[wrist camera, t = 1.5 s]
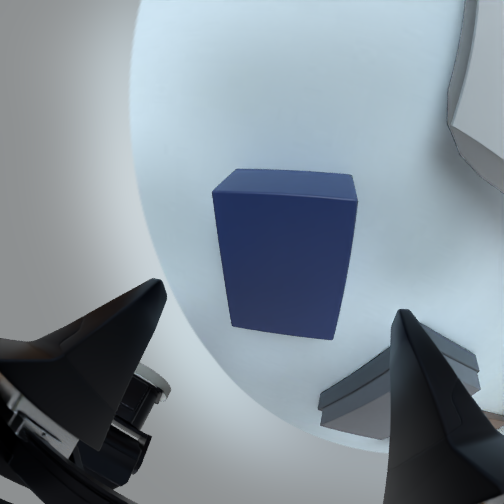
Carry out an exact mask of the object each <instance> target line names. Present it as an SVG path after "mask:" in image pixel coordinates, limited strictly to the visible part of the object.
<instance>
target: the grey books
mask: <svg viewBox="0 0 504 504" xmlns="http://www.w3.org/2000/svg"><path fill="white" fill-rule="evenodd" d="M420 324H421V323H420ZM421 325H422V327H423V328H424V329H425V330H426V332H427V333H428V334H429V336H430V337H431V339H432V340H433V341H434V343H435V344H436V345H437V347H438V348H439V350H440V351H441V352H442V354H443V355H444V357H445V358H446V359H447V361H448V362H449V364H450V365H451V367H452V368H453V370H454V371H455V373H456V374H457V376H458V378H459V379H460V380H461V382H462V383H463V385H464V386H465V388H466V389H467V391H468V392H469V394H470V395H471V396H472V395H473V394H475V393H476V392H478V391H479V390H480V384H479V379H478V375H477V373H478V372H479V367H478V363H477V359H476V356H475V355H474V354H473V353H471V352H469V351H468V350H466V349H464V348H463V347H461V346H459V345H457V344H456V343H454V342H452V341H451V340H449V339H447V338H446V337H444V336H442V335H440V334H439V333H437V332H435V331H433V330H432V329H430V328H428V327H427V326H425V325H423V324H421ZM318 410H321V411H322V417H321V423H320V426H323V427H327V428H331V429H334V430H338V431H342V432H346V433H351V434H355V435H360V436H364V437H369V438H374V439H380V440H382V439H385V438H388V437H390V347H389V348H388V349H387V350H385V351H384V352H383V353H381V354H380V355H379V356H377V357H376V358H375V359H373V360H372V361H370V362H369V363H368V364H366V365H365V366H363V367H362V368H360V369H359V370H357V371H356V372H354V373H353V374H351V375H350V376H348V377H347V378H345V379H344V380H342V381H341V382H339V383H338V384H336V385H334V386H333V387H331V388H329V389H328V390H326V391H324V392H323V393H321V394H320V400H319V406H318Z"/></svg>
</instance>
